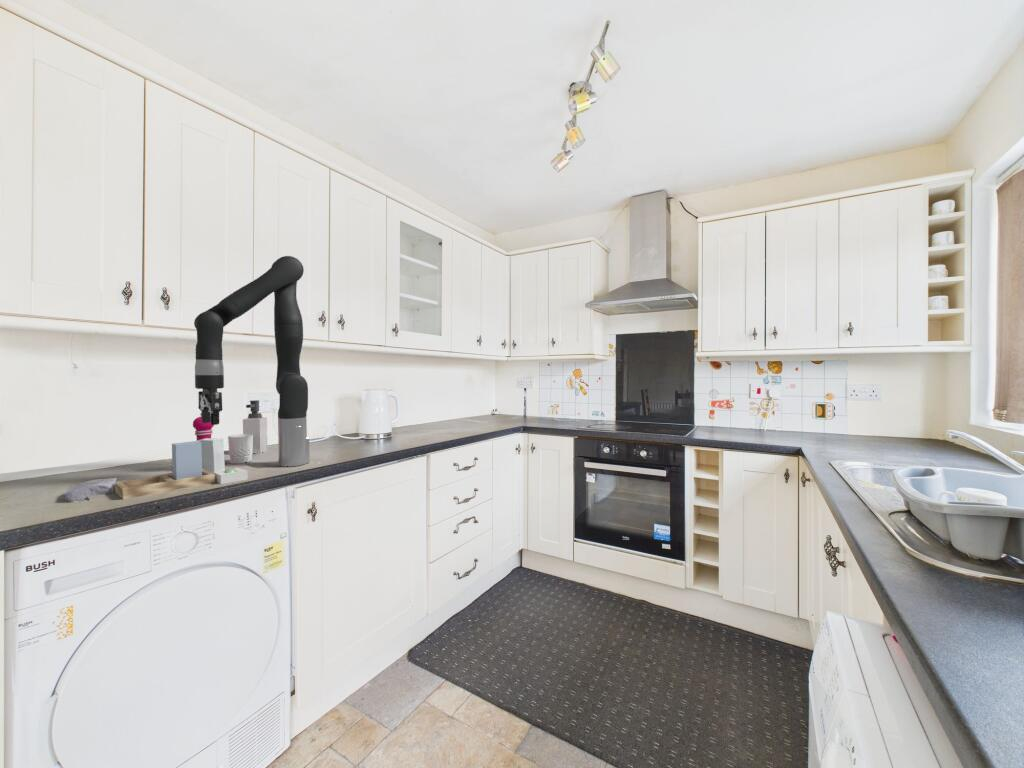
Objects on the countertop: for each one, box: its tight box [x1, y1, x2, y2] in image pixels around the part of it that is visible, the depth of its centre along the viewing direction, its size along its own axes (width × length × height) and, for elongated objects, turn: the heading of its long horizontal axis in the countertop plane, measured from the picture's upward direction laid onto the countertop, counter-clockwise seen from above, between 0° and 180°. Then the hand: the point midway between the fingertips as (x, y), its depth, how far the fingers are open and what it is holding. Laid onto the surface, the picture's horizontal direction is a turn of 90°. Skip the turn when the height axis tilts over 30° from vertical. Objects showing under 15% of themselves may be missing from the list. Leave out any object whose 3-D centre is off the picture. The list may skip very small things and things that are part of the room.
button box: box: [213, 467, 249, 485], centre depth 124 cm, size 7×7×4 cm
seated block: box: [171, 440, 202, 480], centre depth 119 cm, size 6×4×12 cm, turn 143°
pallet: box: [114, 469, 216, 500], centre depth 116 cm, size 20×11×4 cm, turn 143°
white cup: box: [227, 433, 253, 464], centre depth 153 cm, size 8×8×10 cm
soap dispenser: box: [242, 400, 268, 454], centre depth 170 cm, size 6×9×22 cm
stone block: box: [63, 477, 118, 503], centre depth 112 cm, size 12×5×10 cm
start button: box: [225, 468, 235, 473], centre depth 124 cm, size 3×3×2 cm
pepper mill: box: [192, 413, 215, 441], centre depth 142 cm, size 7×7×20 cm
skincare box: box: [196, 437, 226, 473], centre depth 133 cm, size 6×4×12 cm
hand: (210, 423), depth 132 cm, fingers open, 8 cm apart
